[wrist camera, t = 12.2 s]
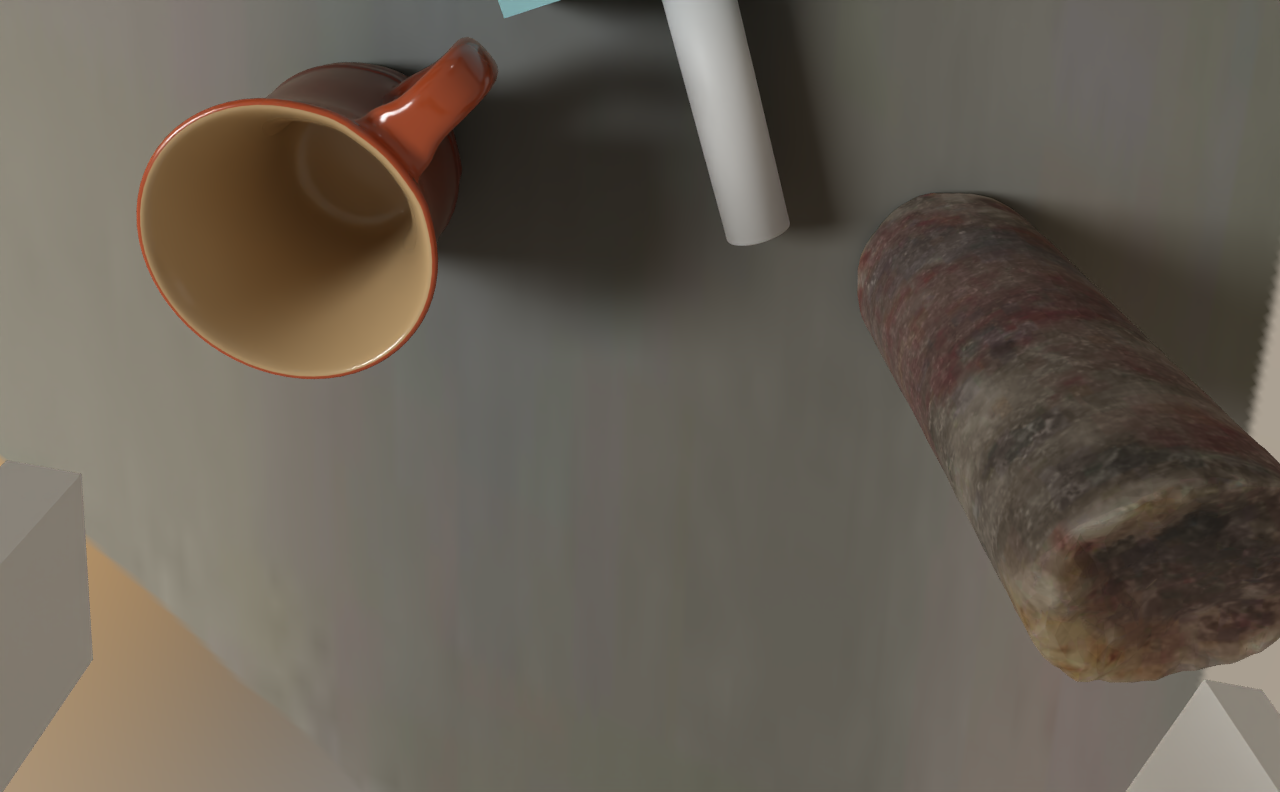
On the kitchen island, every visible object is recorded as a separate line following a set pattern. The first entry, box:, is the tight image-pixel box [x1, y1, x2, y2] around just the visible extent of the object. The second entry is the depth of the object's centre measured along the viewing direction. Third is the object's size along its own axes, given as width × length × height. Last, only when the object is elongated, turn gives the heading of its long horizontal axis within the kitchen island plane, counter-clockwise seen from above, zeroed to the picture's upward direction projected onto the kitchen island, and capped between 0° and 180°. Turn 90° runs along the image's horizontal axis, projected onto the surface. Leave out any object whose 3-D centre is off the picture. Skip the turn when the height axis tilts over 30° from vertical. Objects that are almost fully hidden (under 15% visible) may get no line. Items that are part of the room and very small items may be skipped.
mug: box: [136, 37, 498, 379], centre depth 33 cm, size 12×9×10 cm
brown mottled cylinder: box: [857, 193, 1280, 683], centre depth 32 cm, size 8×7×20 cm
